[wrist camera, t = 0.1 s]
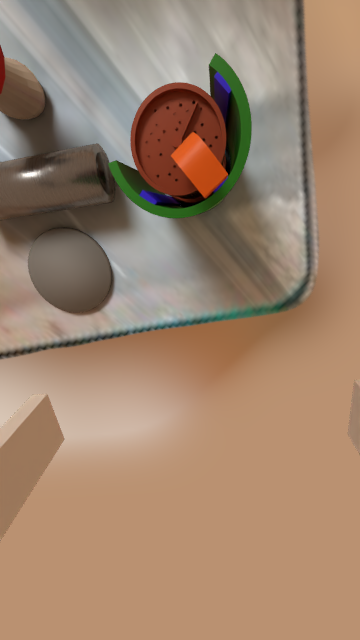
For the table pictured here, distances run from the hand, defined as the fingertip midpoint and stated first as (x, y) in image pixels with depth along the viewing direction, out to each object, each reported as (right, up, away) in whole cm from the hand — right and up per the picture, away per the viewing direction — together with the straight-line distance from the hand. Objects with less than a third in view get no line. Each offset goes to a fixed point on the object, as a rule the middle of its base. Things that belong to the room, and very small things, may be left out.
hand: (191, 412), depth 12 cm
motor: (+2, +22, +21) cm, 31 cm away
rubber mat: (-16, +11, +28) cm, 34 cm away
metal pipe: (-18, +21, +24) cm, 36 cm away
